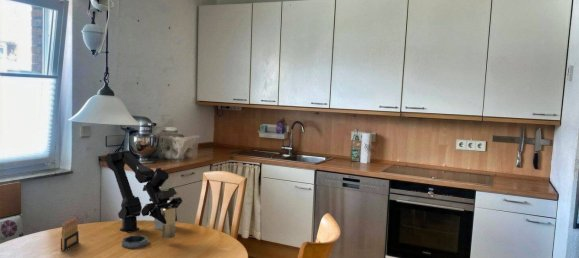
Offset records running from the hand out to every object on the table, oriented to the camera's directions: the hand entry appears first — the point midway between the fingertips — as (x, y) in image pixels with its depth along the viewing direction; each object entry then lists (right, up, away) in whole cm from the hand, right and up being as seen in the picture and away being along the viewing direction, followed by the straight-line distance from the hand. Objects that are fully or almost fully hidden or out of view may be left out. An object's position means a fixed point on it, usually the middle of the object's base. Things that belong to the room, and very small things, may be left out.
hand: (170, 222), depth 187 cm
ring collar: (-15, -9, -1) cm, 18 cm away
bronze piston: (-1, -6, +1) cm, 7 cm away
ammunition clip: (-41, -9, -5) cm, 43 cm away
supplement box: (-9, -8, +24) cm, 27 cm away
